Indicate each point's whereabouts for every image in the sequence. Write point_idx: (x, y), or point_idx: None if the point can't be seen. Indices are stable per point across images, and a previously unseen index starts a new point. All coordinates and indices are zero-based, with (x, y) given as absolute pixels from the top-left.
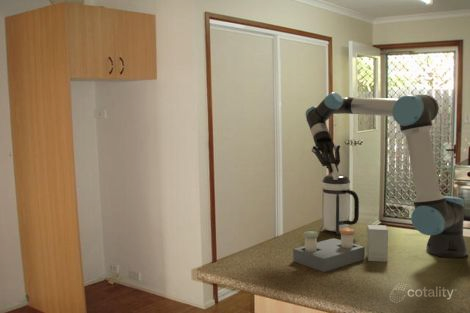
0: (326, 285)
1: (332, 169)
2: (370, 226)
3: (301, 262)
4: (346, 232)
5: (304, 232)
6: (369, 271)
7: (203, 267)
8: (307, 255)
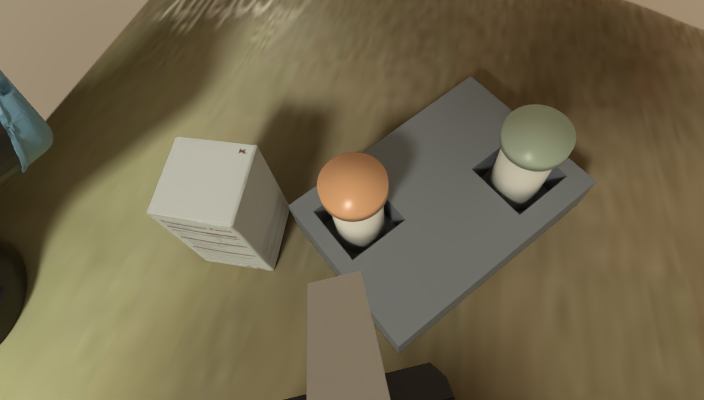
0: (465, 22)
1: (393, 393)
2: (229, 192)
3: None
4: (362, 154)
5: (571, 141)
6: (319, 115)
7: None
8: None
